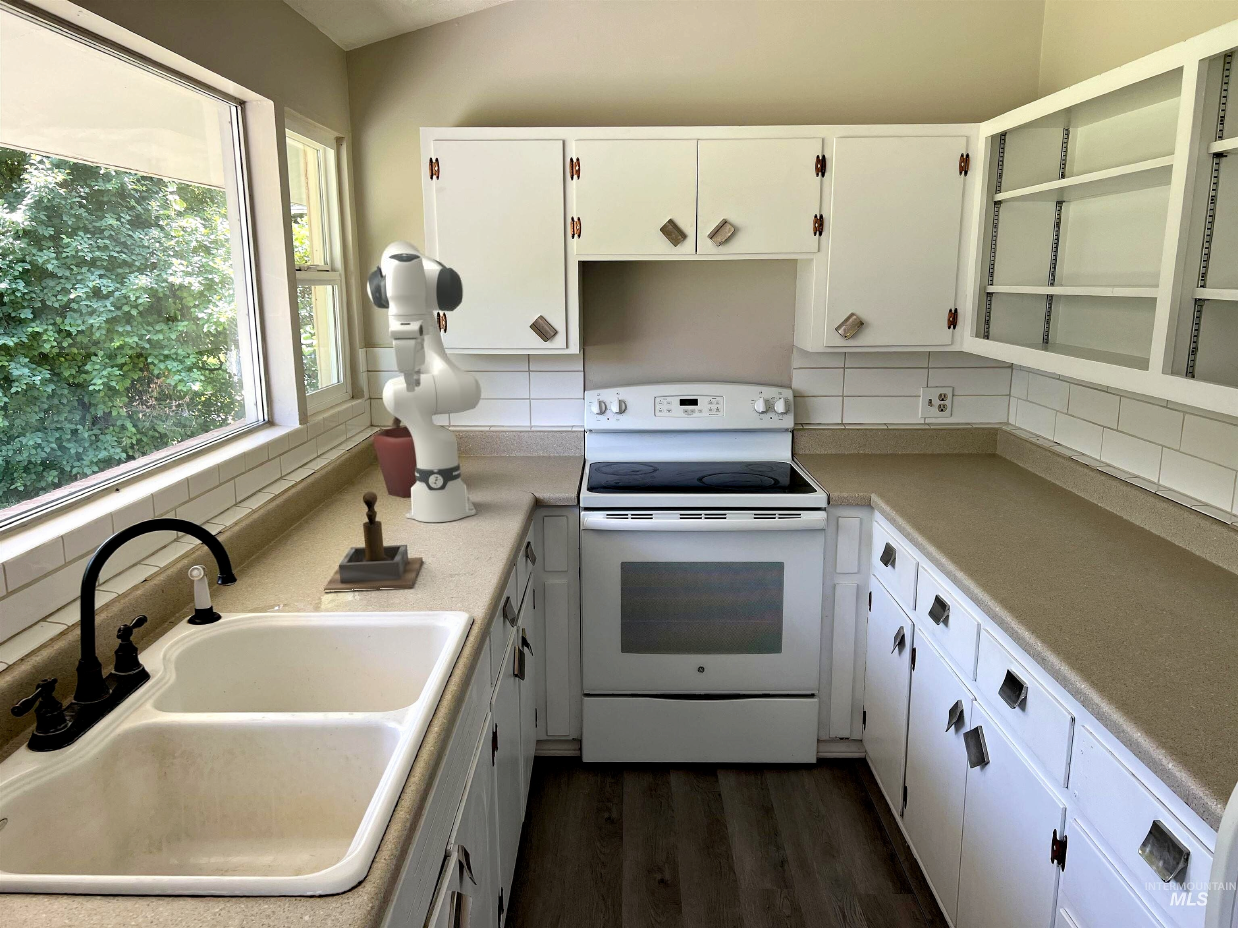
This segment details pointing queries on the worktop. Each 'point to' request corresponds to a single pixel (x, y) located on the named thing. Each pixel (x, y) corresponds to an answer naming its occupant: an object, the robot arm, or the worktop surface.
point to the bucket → (397, 458)
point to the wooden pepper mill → (373, 531)
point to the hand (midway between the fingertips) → (413, 389)
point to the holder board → (375, 570)
